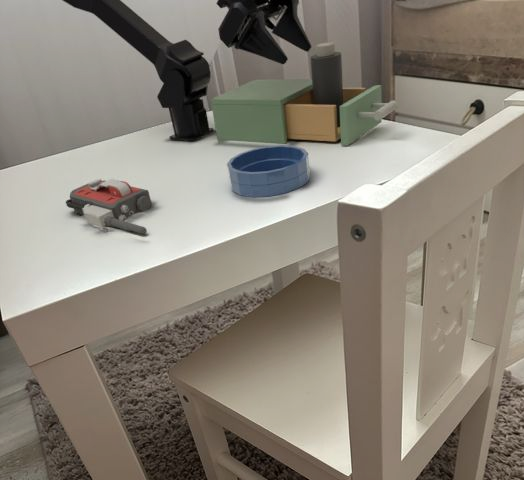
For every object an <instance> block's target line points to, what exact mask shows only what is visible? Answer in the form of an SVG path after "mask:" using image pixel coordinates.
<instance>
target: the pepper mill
mask: <svg viewBox="0 0 524 480" xmlns="http://www.w3.org/2000/svg"><path fill="white" fill-rule="evenodd" d="M315 49H316V54H313V55H312V56H310V71H311V79H312V86H313V100H314V105H336V110H337V128H338V127H340V106H341V105H343V88H344V87H343V86H344V85H343V62H342V61H343V59H342V52H340V51H336V50H335V49H336V48H335V42H333V41H331V42H329V41H328V42H322V43H318V44H317V45H315Z"/></svg>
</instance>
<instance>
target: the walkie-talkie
mask: <svg viewBox="0 0 524 480" xmlns="http://www.w3.org/2000/svg"><path fill="white" fill-rule="evenodd" d="M65 204H66V207H67V208H69V209H73V210H74V212H75V213H77V214H79V215H83V216H84V217H85V220H86V223H88V224H90V225H91V227H92V226H93V227H96V228H99V229H100V230H102V231H105V230H107V229H108V228H107V227H111V228H118V229H120V230H123V231H128V232H136V233H138V234H139V233H140V234H147V233H148V230H147V228H146V227H145V226H142V225H138V224H135V223H132V222H128V221H124V220H127V218H128V217H130V216H131V215H134V214H136V213H139V212H142V213H143V212H145V211H147V210H149V209H151V206H152V205H153V204H152V200H151V195H150V192H149V190H148V189H144V188H140V187H136V186H132V185H130V184H129V183H128V182H127V181H125V180H118V179H114V178H110V179H107V180H102V178H98V179H96V180H93V181H90V182H88V183H86V184H84V185H81V186H80V187H76V188H74V189H72V190H71V192H70V193H69V199H67V200H66V201H65Z"/></svg>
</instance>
